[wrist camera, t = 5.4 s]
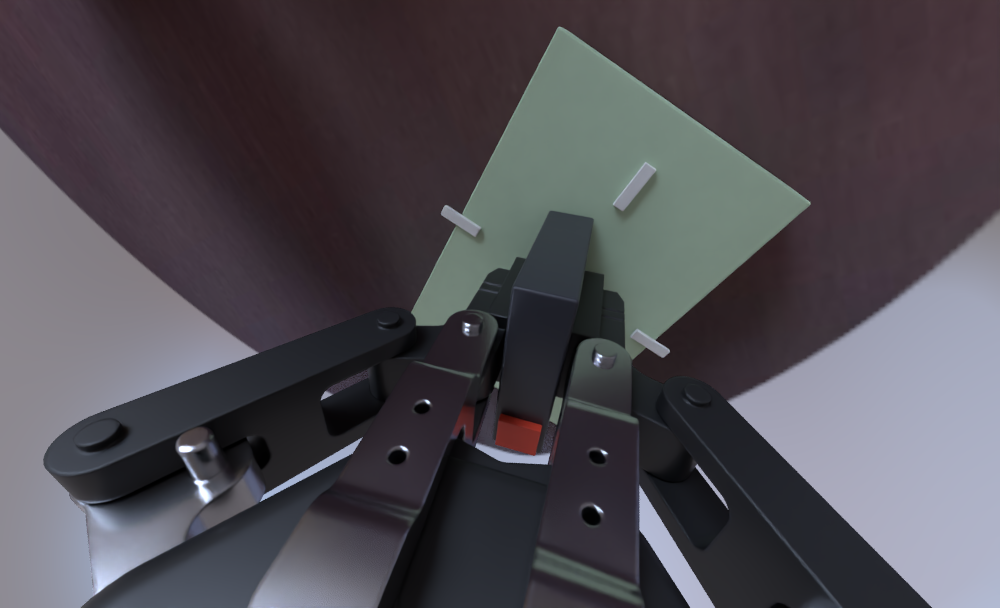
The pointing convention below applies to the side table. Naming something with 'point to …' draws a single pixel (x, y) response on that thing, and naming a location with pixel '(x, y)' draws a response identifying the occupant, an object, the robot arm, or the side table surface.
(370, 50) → the side table surface
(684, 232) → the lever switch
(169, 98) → the side table surface
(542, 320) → the black box
